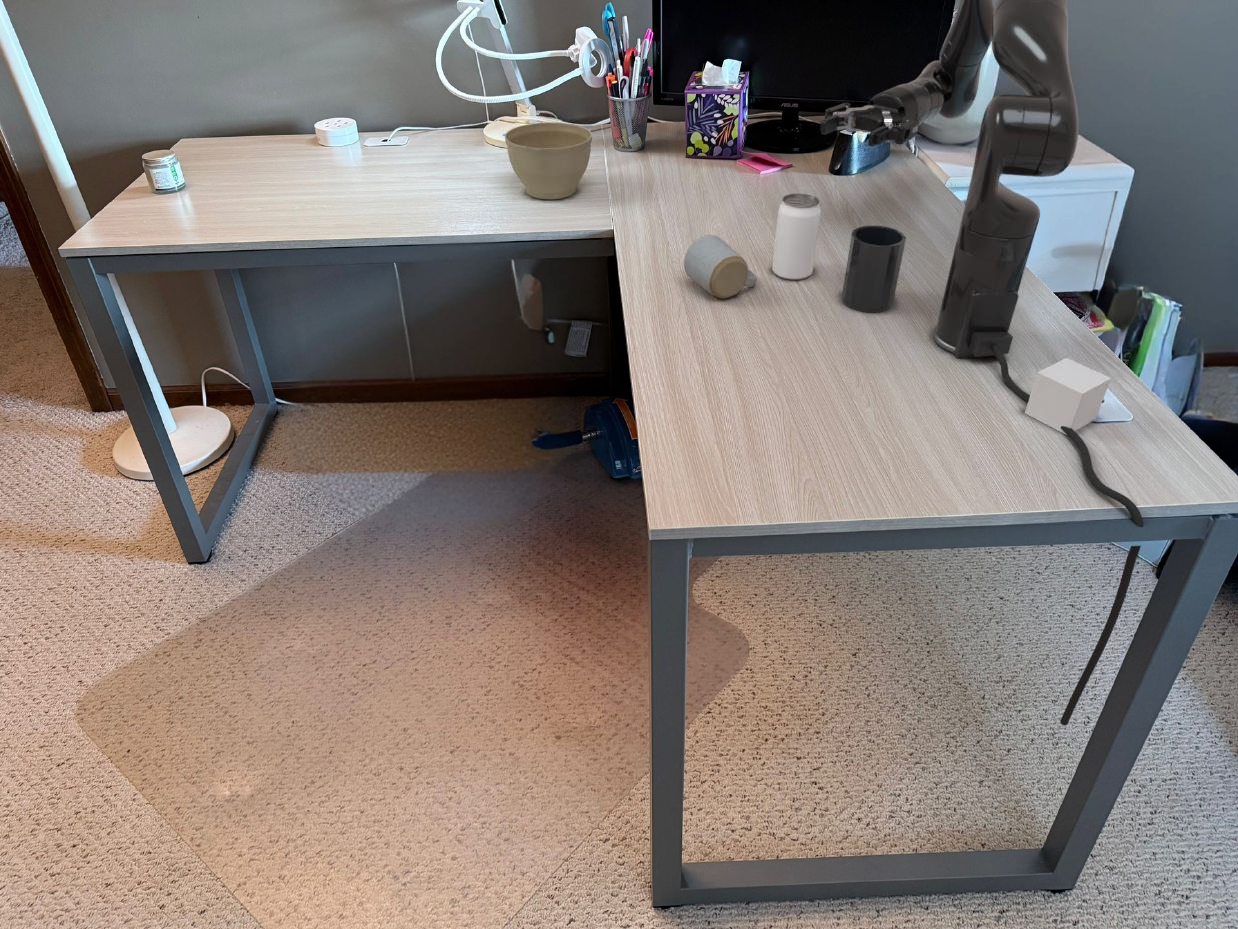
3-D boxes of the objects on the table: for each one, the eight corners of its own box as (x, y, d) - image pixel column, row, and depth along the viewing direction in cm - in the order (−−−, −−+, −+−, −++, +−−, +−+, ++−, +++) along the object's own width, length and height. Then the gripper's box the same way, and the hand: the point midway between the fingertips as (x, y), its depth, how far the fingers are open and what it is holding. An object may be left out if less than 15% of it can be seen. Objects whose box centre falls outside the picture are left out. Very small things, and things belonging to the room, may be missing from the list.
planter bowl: (605, 200, 172) (604, 141, 165) (523, 212, 167) (519, 152, 160) (576, 172, 184) (575, 117, 177) (499, 183, 179) (494, 126, 172)
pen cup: (898, 312, 136) (912, 245, 129) (848, 313, 135) (859, 246, 129) (884, 289, 142) (897, 225, 135) (836, 290, 142) (846, 225, 135)
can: (811, 282, 144) (821, 209, 136) (770, 279, 145) (778, 206, 137) (813, 265, 149) (822, 193, 141) (773, 262, 150) (781, 190, 142)
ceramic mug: (709, 305, 137) (713, 258, 133) (681, 284, 143) (684, 238, 138) (767, 292, 141) (772, 245, 137) (737, 271, 147) (742, 226, 142)
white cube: (1052, 398, 117) (1066, 357, 113) (1095, 419, 113) (1111, 378, 109) (1024, 413, 114) (1037, 372, 111) (1067, 435, 110) (1082, 393, 107)
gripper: (864, 78, 152) (810, 99, 143) (943, 95, 145) (892, 118, 135) (857, 124, 157) (805, 147, 148) (933, 142, 149) (883, 168, 140)
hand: (846, 133), depth 141 cm, fingers open, 8 cm apart
